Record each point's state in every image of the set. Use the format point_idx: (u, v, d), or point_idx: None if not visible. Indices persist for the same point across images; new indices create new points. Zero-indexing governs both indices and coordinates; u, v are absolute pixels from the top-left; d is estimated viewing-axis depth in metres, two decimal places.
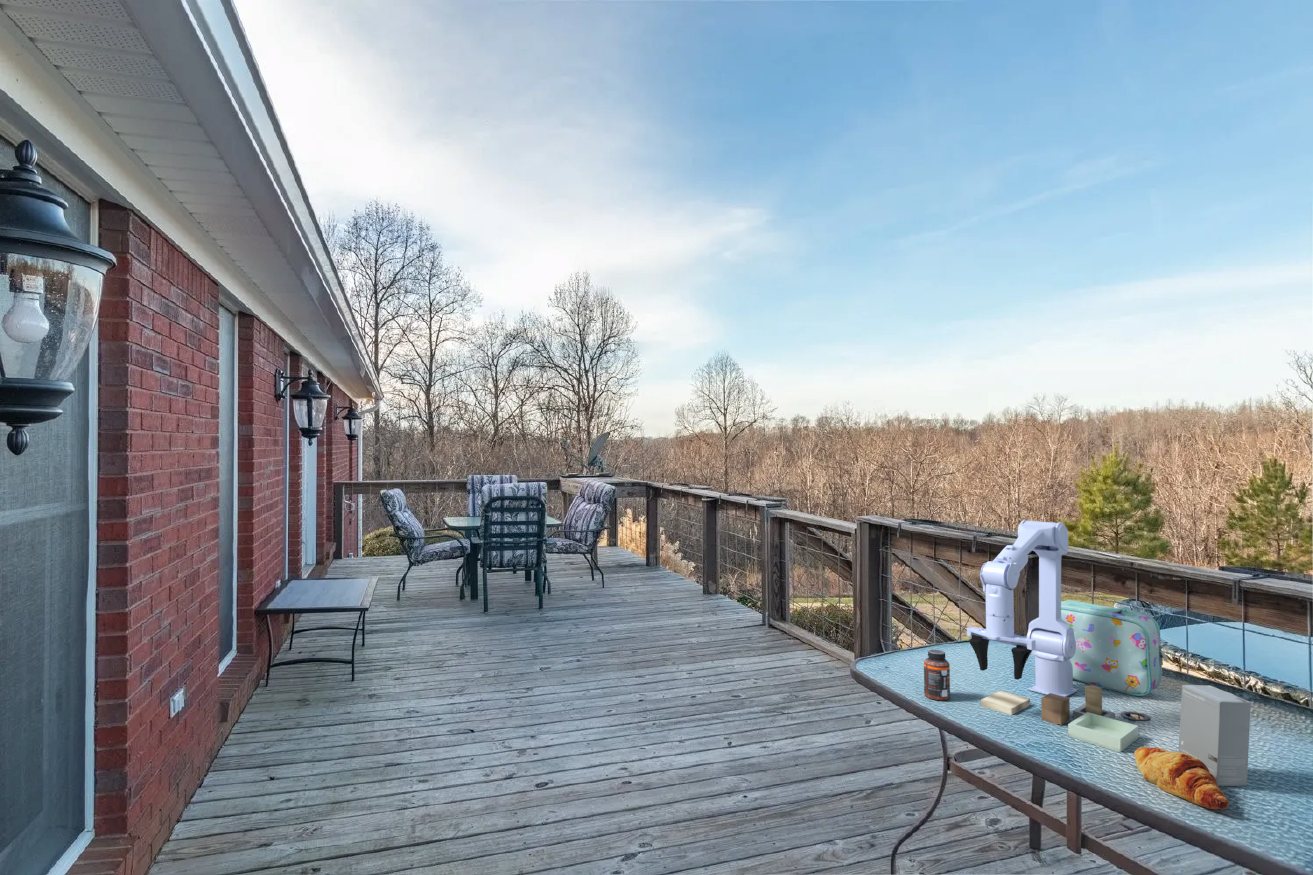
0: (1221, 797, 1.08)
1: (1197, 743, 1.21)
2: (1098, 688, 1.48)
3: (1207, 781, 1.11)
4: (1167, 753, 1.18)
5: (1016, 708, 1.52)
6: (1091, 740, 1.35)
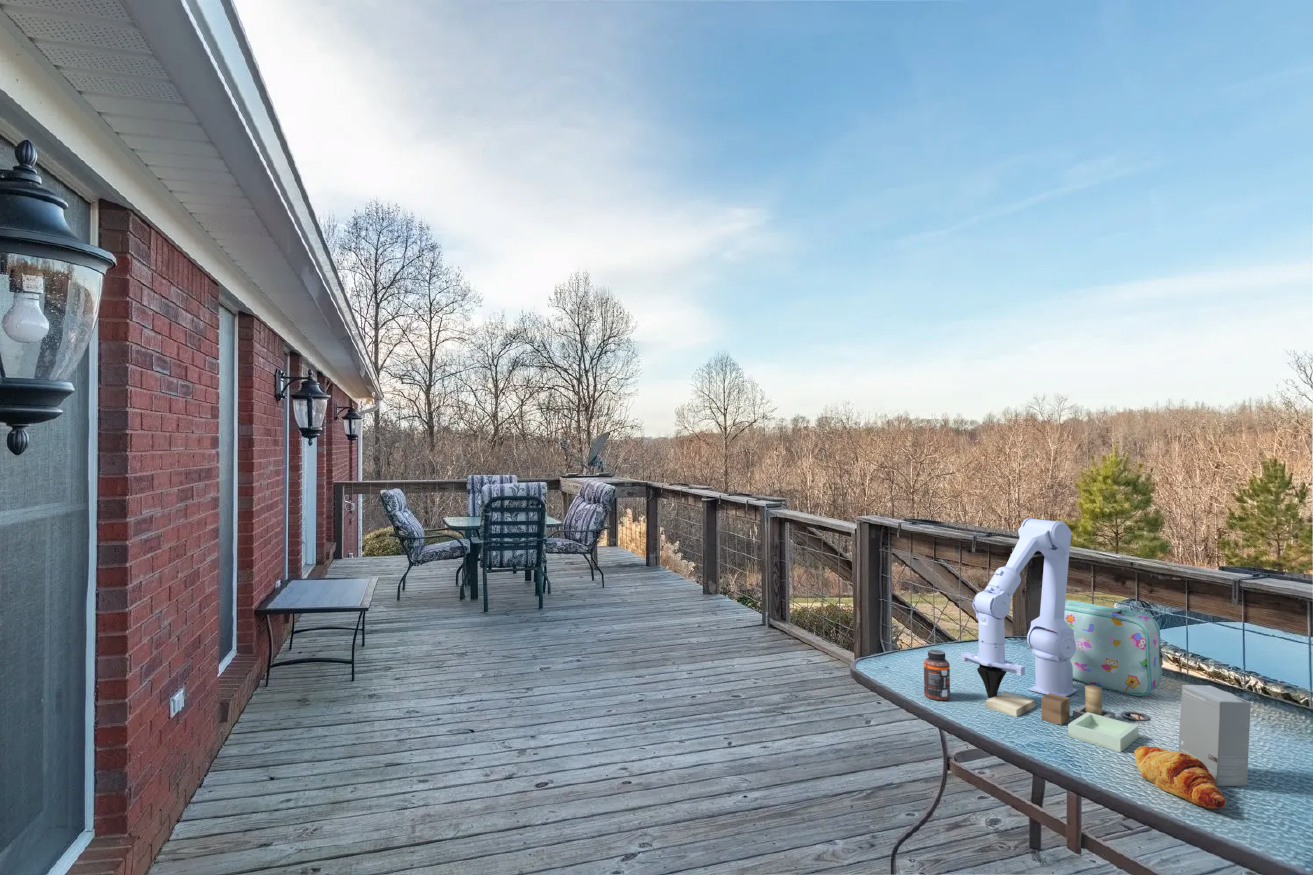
0: (1218, 796, 1.08)
1: (1197, 743, 1.21)
2: (1098, 688, 1.48)
3: (1204, 781, 1.12)
4: (1166, 752, 1.18)
5: (1021, 709, 1.51)
6: (1091, 740, 1.35)
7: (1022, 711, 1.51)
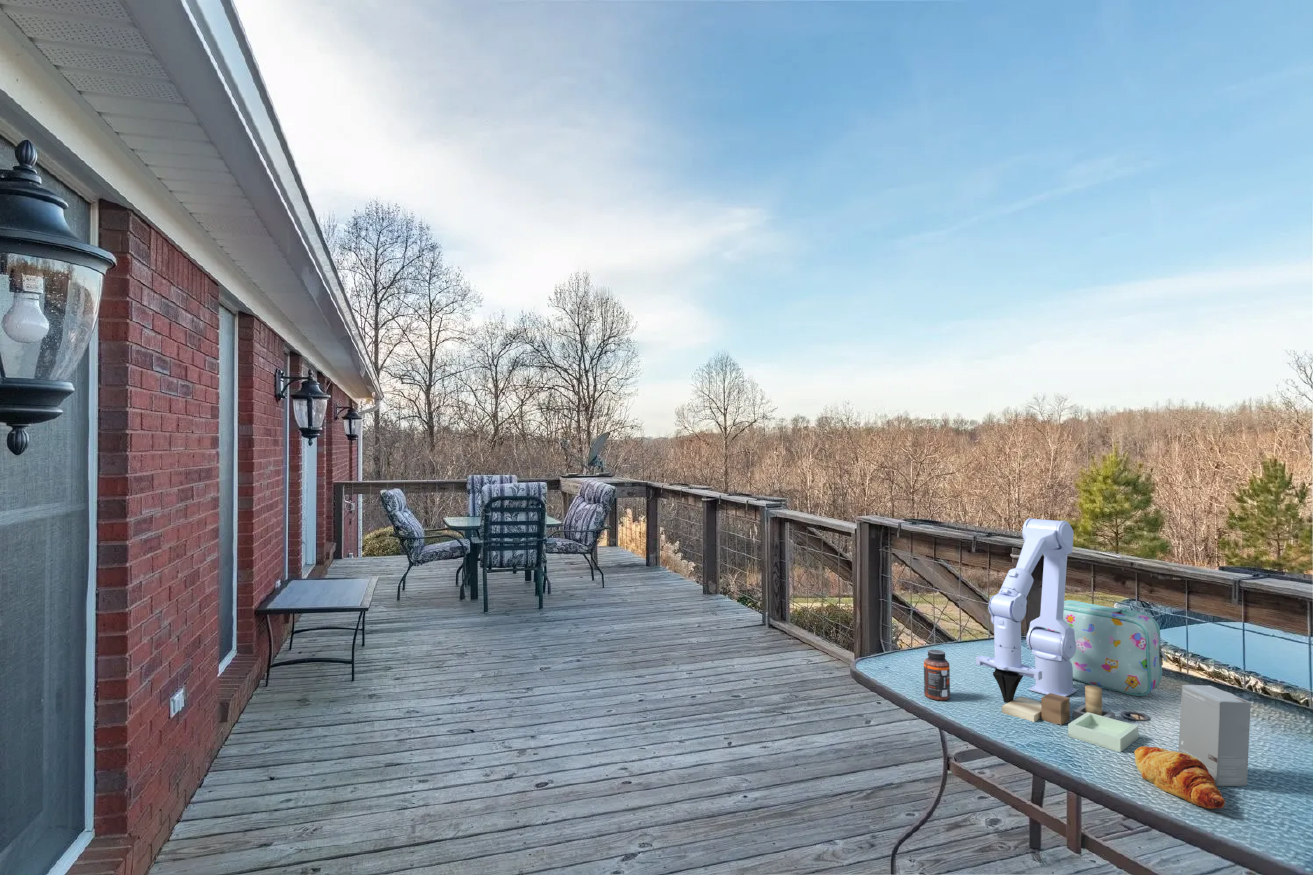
0: (1217, 796, 1.08)
1: (1197, 743, 1.21)
2: (1098, 688, 1.48)
3: (1204, 781, 1.12)
4: (1165, 752, 1.18)
5: (1038, 715, 1.48)
6: (1091, 740, 1.35)
7: (1039, 717, 1.48)
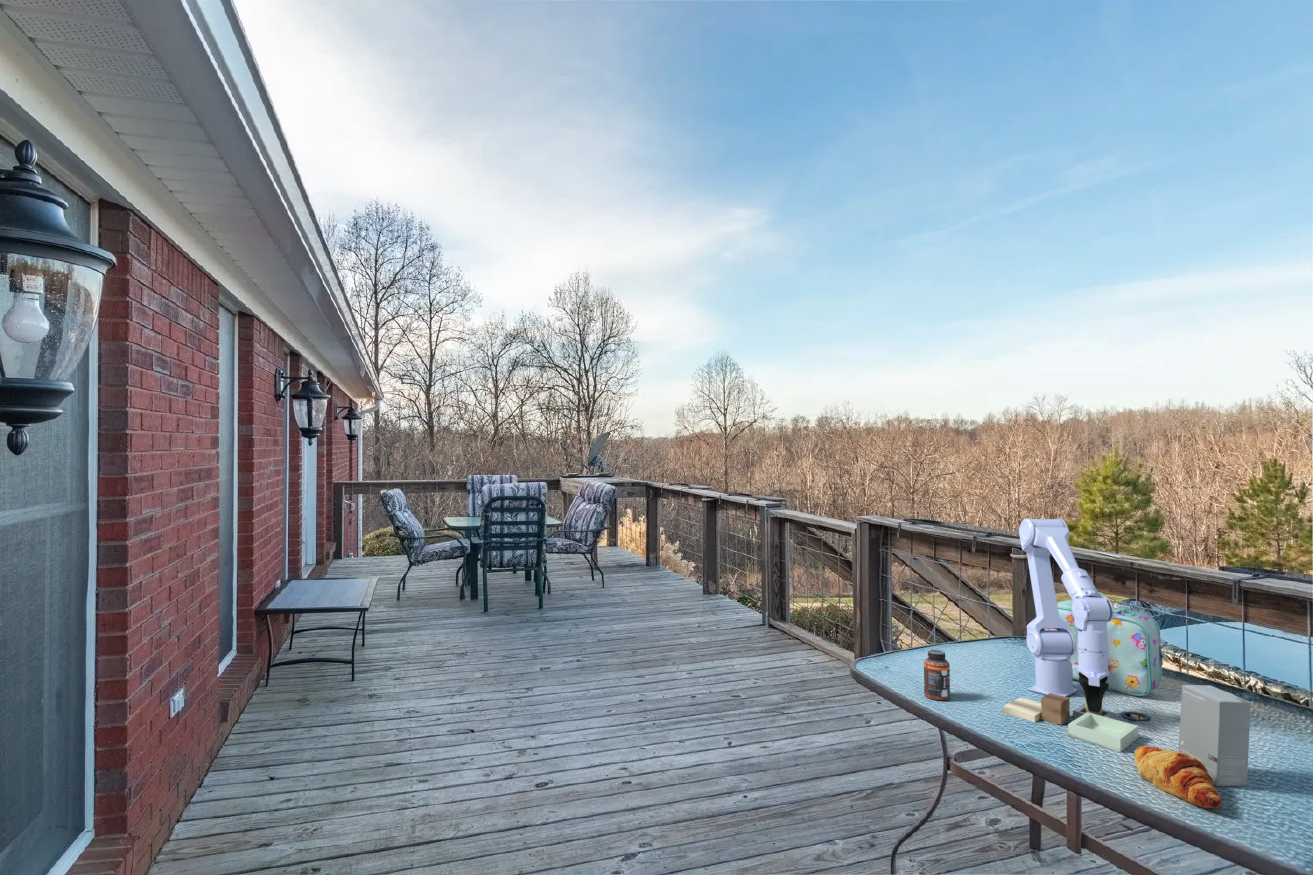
0: (1214, 796, 1.08)
1: (1197, 743, 1.21)
2: None
3: (1201, 780, 1.12)
4: (1164, 752, 1.18)
5: (1039, 715, 1.48)
6: (1091, 740, 1.35)
7: (1040, 717, 1.48)
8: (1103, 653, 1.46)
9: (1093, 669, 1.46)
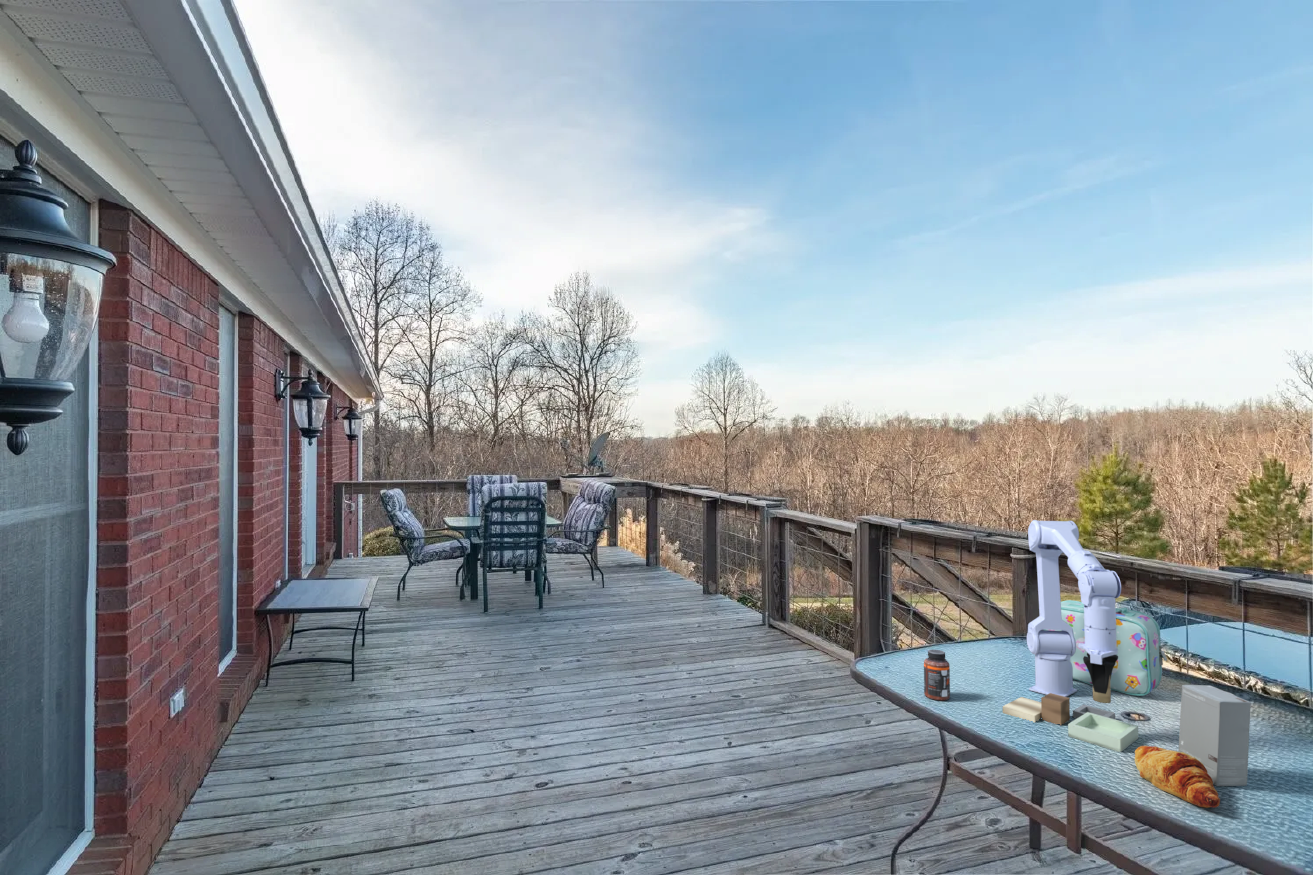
0: (1212, 795, 1.08)
1: (1197, 743, 1.21)
2: None
3: (1200, 780, 1.12)
4: (1163, 751, 1.18)
5: (1039, 715, 1.48)
6: (1091, 740, 1.35)
7: (1040, 717, 1.48)
8: (1110, 631, 1.37)
9: (1098, 647, 1.38)
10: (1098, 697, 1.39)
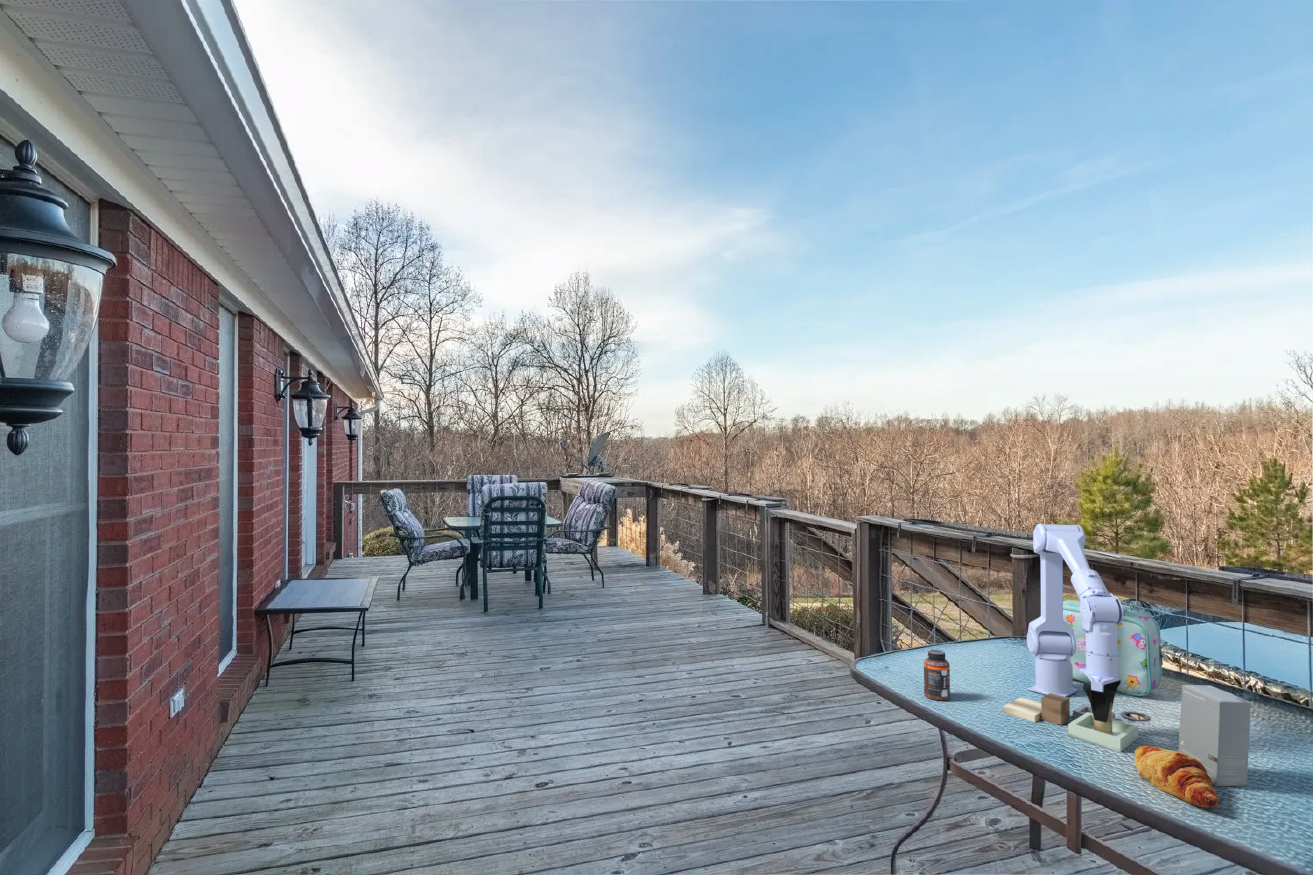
0: (1211, 795, 1.08)
1: (1197, 743, 1.21)
2: None
3: (1199, 780, 1.12)
4: (1163, 751, 1.18)
5: (1039, 715, 1.48)
6: (1091, 740, 1.35)
7: (1040, 717, 1.48)
8: (1111, 657, 1.36)
9: (1100, 674, 1.36)
10: (1099, 731, 1.37)
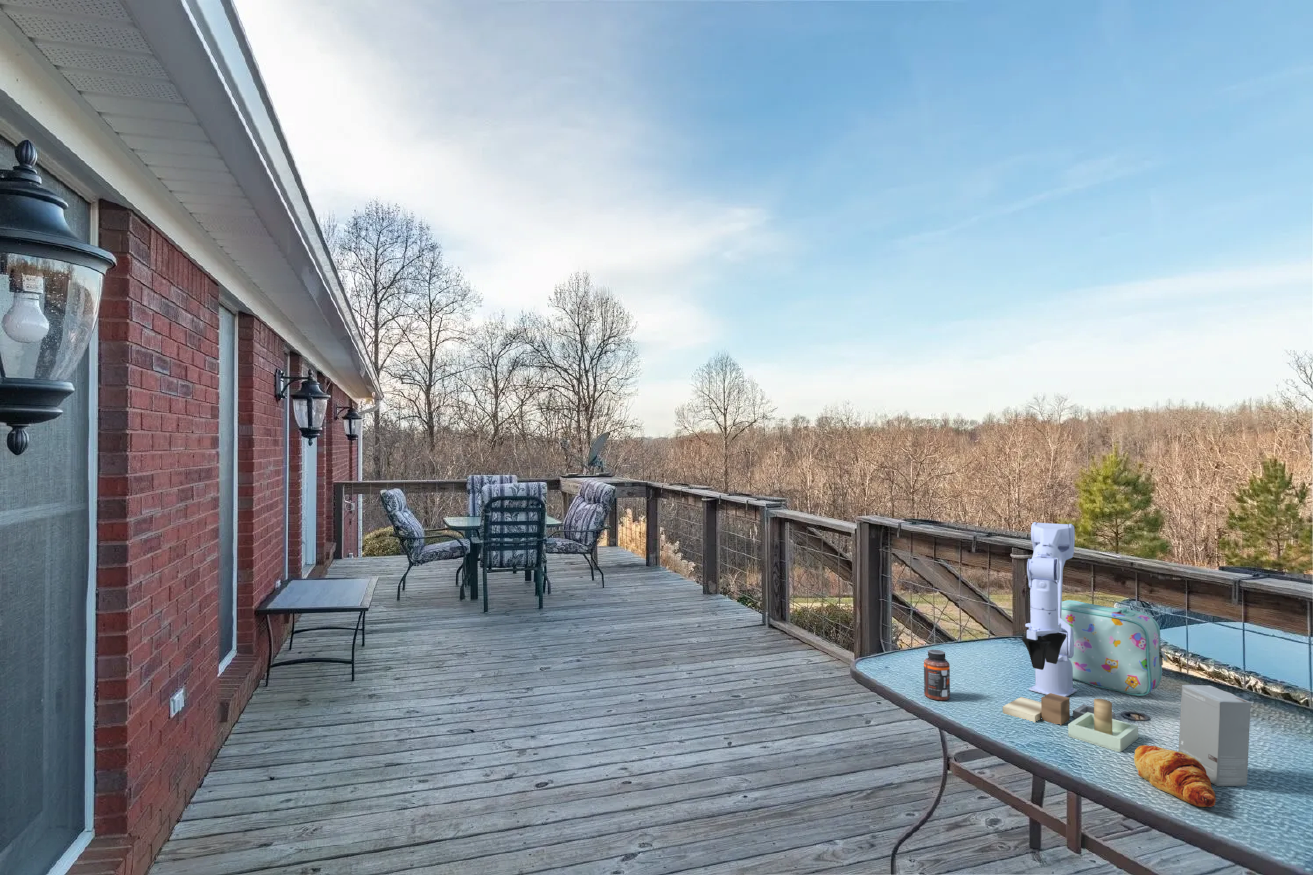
0: (1208, 795, 1.09)
1: (1197, 743, 1.21)
2: (1108, 702, 1.38)
3: (1197, 779, 1.12)
4: (1161, 751, 1.18)
5: (1039, 715, 1.48)
6: (1091, 740, 1.35)
7: (1040, 717, 1.48)
8: (1049, 611, 1.51)
9: (1039, 626, 1.52)
10: (1100, 731, 1.37)
